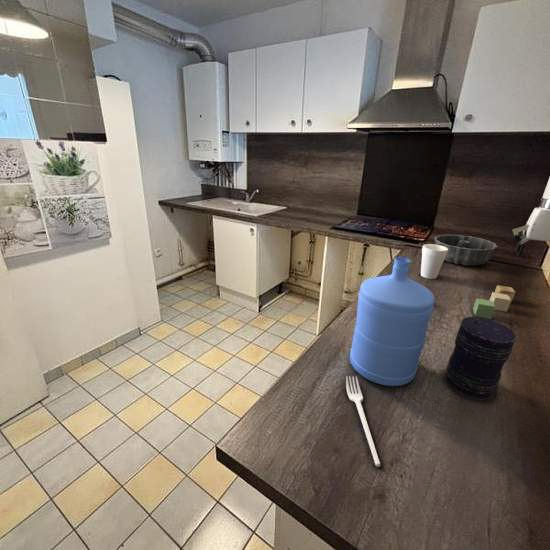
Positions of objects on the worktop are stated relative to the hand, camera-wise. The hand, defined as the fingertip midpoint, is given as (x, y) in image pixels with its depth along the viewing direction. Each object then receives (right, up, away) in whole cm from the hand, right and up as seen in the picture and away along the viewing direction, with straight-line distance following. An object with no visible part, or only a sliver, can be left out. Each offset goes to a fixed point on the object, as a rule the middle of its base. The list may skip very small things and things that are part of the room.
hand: (535, 256), depth 98 cm
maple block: (-4, -15, +9) cm, 18 cm away
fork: (-70, -35, -39) cm, 88 cm away
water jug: (-61, -29, -25) cm, 72 cm away
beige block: (-10, -18, +4) cm, 21 cm away
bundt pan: (+5, +1, +49) cm, 49 cm away
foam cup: (-21, -7, +29) cm, 36 cm away
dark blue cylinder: (-43, -31, -30) cm, 61 cm away
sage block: (-19, -19, -1) cm, 27 cm away
